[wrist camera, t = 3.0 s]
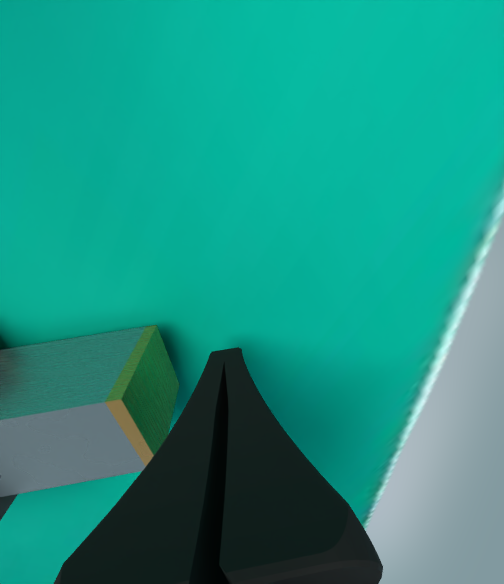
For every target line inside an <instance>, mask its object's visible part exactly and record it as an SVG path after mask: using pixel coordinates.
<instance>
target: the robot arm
mask: <svg viewBox="0 0 504 584" xmlns="http://www.w3.org/2000/svg"><path fill="white" fill-rule="evenodd" d="M382 570H383V566H382V564H381V561H380V559H379V557H378V554H377V552H376V550H375V548H374V546H373V544H372V542H371V541H370V539H369V537H368V535H367V533H366V531H365V530H364V528H363V526H362V525H361V523H360V521H359V520H358V518H357V517H356V515H355V514H354V512H353V510H352V509H351V507H350V506H349V504H348V503H347V502H346V501H345V500H344V499H343V498H342V496H341V495H340V494H339V493H338V492H337V491H336V490H335V489H334V488H333V487H332V486H331V485H330V484H329V483H328V482H327V481H326V479H325V478H324V477H323V476H322V475H321V474H320V473H319V472H318V471H317V470H316V468H315V467H314V466H313V465H312V464H311V463H310V462H309V460H308V459H307V458H306V457H305V456H304V454H303V453H302V452H301V451H300V449H299V448H298V447H297V446H296V445H295V443H294V442H293V441H292V440H291V438H290V437H289V436H288V435H287V433H286V432H285V431H284V429H283V428H282V426H281V425H280V424H279V422H278V421H277V420H276V418H275V417H274V415H273V414H272V412H271V411H270V409H269V408H268V406H267V405H266V403H265V401H264V400H263V398H262V396H261V395H260V393H259V391H258V389H257V388H256V386H255V384H254V382H253V380H252V378H251V376H250V374H249V372H248V369H247V367H246V364H245V362H244V359H243V355H242V349H241V348H239V347H238V348H232V349H226V350H220V351H214V352H212V353H211V354H210V356H209V359H208V361H207V364H206V366H205V369H204V371H203V373H202V375H201V378H200V380H199V382H198V384H197V386H196V388H195V390H194V392H193V394H192V396H191V398H190V399H189V401H188V403H187V405H186V407H185V408H184V410H183V412H182V414H181V415H180V417H179V419H178V420H177V422H176V424H175V425H174V427H173V428H172V430H171V431H170V433H169V434H168V436H167V438H166V439H165V440H164V442H163V443H162V445H161V446H160V448H159V449H158V450H157V452H156V453H155V455H154V456H153V457H152V459H151V460H150V462H149V463H148V464H147V466H146V467H145V468H144V470H143V471H142V472H141V474H140V475H139V476H138V477H137V479H136V480H135V481H134V482H133V484H132V485H131V486H130V487H129V488H128V490H127V491H126V492H125V493H124V495H123V496H122V497H121V498H120V500H119V501H118V502H117V503H116V505H115V506H114V507H113V508H112V509H111V511H110V512H109V513H108V514H107V515H106V516H105V518H104V519H103V520H102V521H101V522H100V523H99V524H98V525H97V527H96V528H95V529H94V530H93V531H92V532H91V533H90V534H89V536H88V537H87V538H86V539H85V540H84V541H83V542H82V543H81V545H80V546H79V547H78V548H77V549H76V550H75V551H74V552H73V554H72V555H71V556H70V557H69V558H68V559H67V560H66V561H65V562H64V564H63V565H62V567H61V570H60V572H59V574H58V576H57V578H56V580H55V582H54V584H378V583H379V581H380V579H381V577H382Z"/></svg>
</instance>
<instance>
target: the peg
mask: <svg viewBox="0 0 504 584" xmlns="http://www.w3.org/2000/svg"><path fill="white" fill-rule="evenodd" d="M178 388H179V382H178V379H177V376H176V374H175V371H174V369H173V366H172V363H171V361H170V358H169V356H168V353H167V350H166V348H165V345H164V342H163V340H162V337H161V335H160V332H159V329H158V327H157V325H153V326H147V327H140V328H134V329H128V330H121V331H115V332H109V333H102V334H96V335H90V336H83V337H77V338H71V339H64V340H58V341H52V342H45V343H39V344H33V345H27V346H20V347H14V348H8V349H1V350H0V497H4V496H9V495H15V494H20V493H25V492H31V491H36V490H42V489H47V488H52V487H58V486H63V485H68V484H74V483H79V482H85V481H90V480H95V479H101V478H106V477H112V476H117V475H122V474H128V473H133V472H138V471H143V470H144V468H145V467H146V466H147V464H148V463H149V462H150V460H151V459H152V457H153V456H154V455H155V453H156V452H157V450H158V449H159V448H160V446H161V445H162V443H163V442H164V440H165V439H166V438H167V436H168V432H169V428H170V424H171V419H172V415H173V410H174V406H175V401H176V397H177V393H178Z"/></svg>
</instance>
